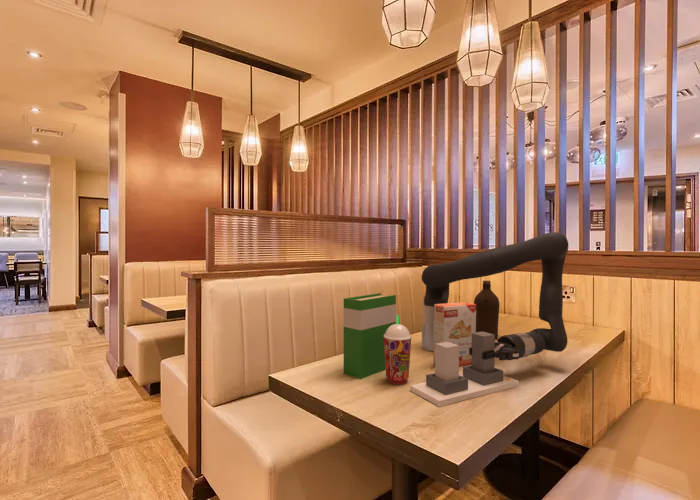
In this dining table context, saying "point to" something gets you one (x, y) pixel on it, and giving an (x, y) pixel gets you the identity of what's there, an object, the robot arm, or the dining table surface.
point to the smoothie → (397, 353)
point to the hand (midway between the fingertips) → (476, 353)
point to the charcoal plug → (479, 345)
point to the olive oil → (487, 310)
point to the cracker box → (455, 327)
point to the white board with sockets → (458, 379)
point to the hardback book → (366, 333)
